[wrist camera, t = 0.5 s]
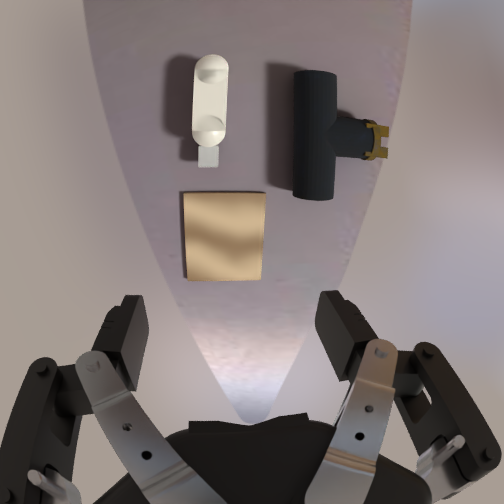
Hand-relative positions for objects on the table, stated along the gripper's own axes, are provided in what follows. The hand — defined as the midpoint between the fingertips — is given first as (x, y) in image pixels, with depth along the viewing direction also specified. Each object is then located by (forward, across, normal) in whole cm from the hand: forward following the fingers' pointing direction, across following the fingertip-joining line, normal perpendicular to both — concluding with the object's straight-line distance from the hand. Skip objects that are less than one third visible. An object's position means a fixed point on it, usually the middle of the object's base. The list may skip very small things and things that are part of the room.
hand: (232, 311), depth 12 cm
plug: (+24, +2, -10) cm, 26 cm away
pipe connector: (+25, -14, -8) cm, 29 cm away
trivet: (+24, 0, +6) cm, 25 cm away
